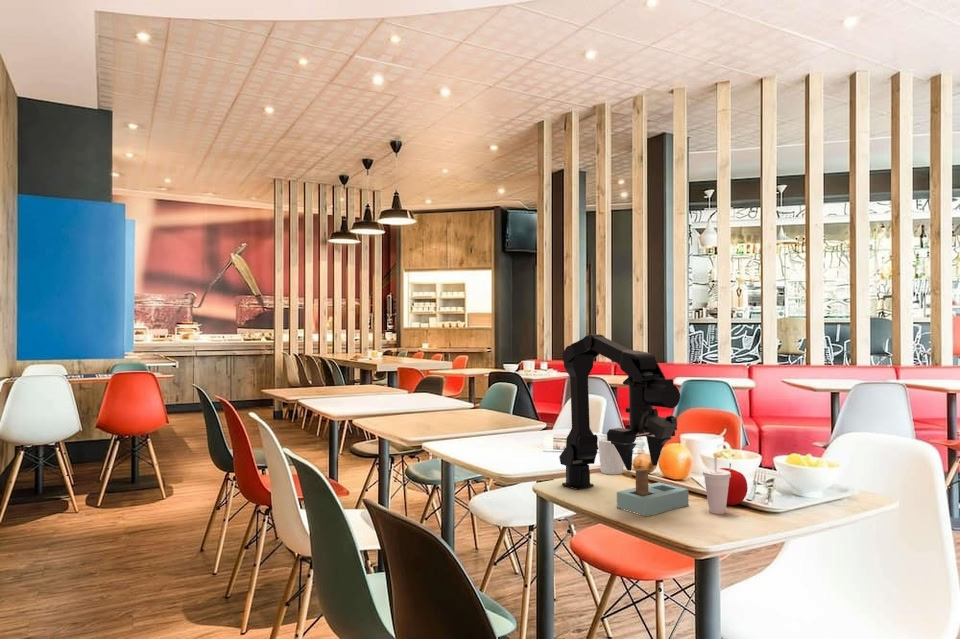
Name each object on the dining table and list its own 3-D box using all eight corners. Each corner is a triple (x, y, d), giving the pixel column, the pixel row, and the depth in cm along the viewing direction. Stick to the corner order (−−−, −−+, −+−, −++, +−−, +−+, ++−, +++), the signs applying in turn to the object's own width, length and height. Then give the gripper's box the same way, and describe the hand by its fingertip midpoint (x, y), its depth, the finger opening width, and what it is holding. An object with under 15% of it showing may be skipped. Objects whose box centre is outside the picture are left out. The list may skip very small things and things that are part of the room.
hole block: (617, 507, 155) (616, 491, 155) (659, 497, 164) (659, 482, 164) (645, 516, 147) (645, 499, 147) (688, 505, 156) (688, 489, 156)
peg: (633, 509, 153) (632, 470, 154) (641, 507, 155) (641, 468, 155) (642, 512, 151) (642, 472, 151) (651, 509, 153) (650, 471, 153)
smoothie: (698, 512, 150) (697, 454, 151) (709, 506, 155) (708, 450, 155) (725, 517, 146) (724, 457, 146) (735, 511, 151) (734, 453, 151)
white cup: (599, 474, 189) (598, 441, 189) (598, 469, 197) (598, 437, 197) (625, 475, 188) (625, 442, 188) (624, 469, 196) (623, 437, 196)
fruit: (755, 507, 154) (754, 466, 154) (719, 508, 153) (718, 467, 153) (737, 497, 163) (736, 459, 163) (703, 498, 162) (702, 460, 162)
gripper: (640, 410, 141) (641, 479, 141) (692, 404, 152) (693, 468, 152) (604, 406, 151) (605, 470, 150) (656, 400, 161) (657, 461, 161)
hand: (642, 467), depth 153 cm, fingers open, 9 cm apart
